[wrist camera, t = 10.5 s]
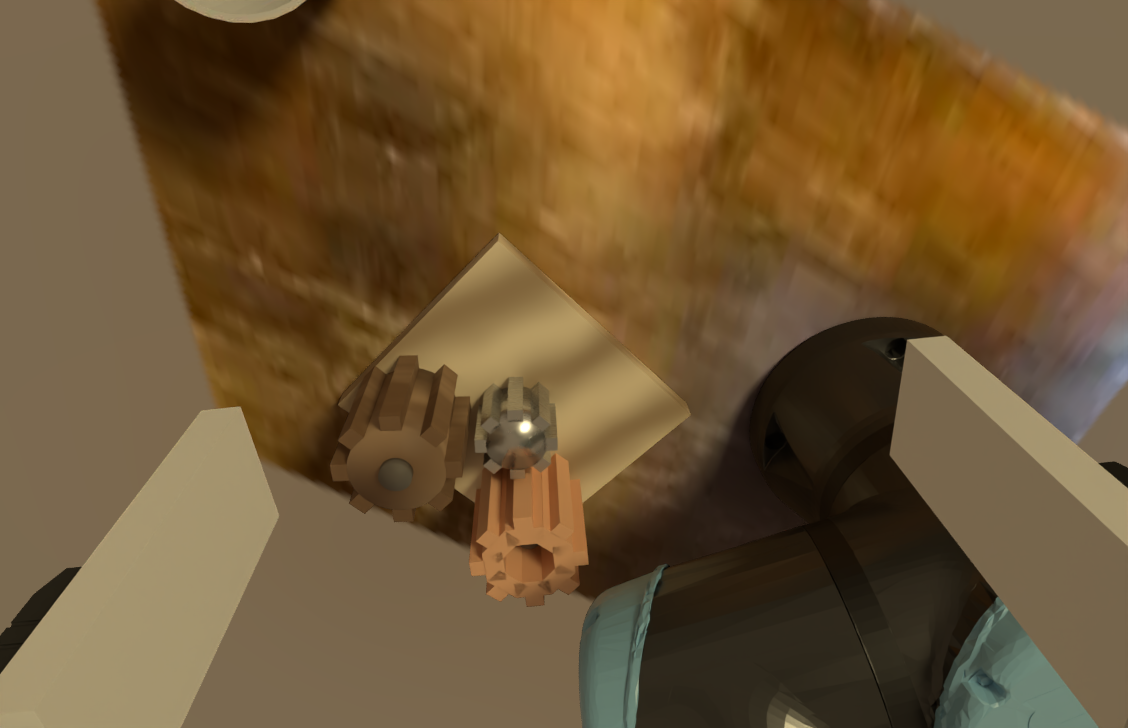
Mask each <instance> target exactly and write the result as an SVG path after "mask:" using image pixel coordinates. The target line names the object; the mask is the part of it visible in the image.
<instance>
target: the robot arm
mask: <svg viewBox="0 0 1128 728" xmlns="http://www.w3.org/2000/svg"><path fill="white" fill-rule="evenodd" d="M750 444H751V448H752V452H753V455H754V458H755V460H756V462H757V465H758V467H759V469H760V471H761V473H762V475H763V477H764V479H765V481H766V482H767V484H768V486H769V487H770V488H771V490H772V491H773V492H774V493H775V495H776V496H777V497H778V498H779V499H780V500H781V501H782V502H783V503H784V504H786V505H787V506H788V507H789V508H791V509H792V510H793V511H794V512H796V513H797V514H798V515H799V516H801V517H802V518H803V519H804V520H806V521H807V522H808V523H809V524H807V525H804V526H799V527H795V528H792V529H789V530H786V531H783V532H780V533H777V534H774V535H771V536H768V537H765V538H762V539H759V540H755V541H752V542H749V543H746V544H743V545H740V546H737V547H734V548H730V549H727V550H724V551H721V552H717V553H714V554H711V555H707V556H704V557H701V558H698V559H694V560H691V561H688V562H684V563H681V564H678V565H674V566H671V567H670V566H669V565H668V564H664V565H660V566H658V567H657V568H656V569H655V570H654V571H653V572H651V573H649V574H646V575H643V576H641V577H638V578H635V579H633V580H630V581H627V582H625V583H622V584H619V585H617V586H614V587H611V588H609V589H607V590H605V591H604V592H603V593H601V594H600V595H599V596H598V597H597V598H596V599H595V600H594V602H593V603H592V605H591V606H590V608H589V610H588V612H587V614H586V617H585V621H584V624H583V629H582V637H581V642H580V652H579V691H580V692H579V693H580V708H581V719H582V727H583V728H1128V468H1127V467H1125V466H1123V465H1121V464H1119V463H1117V462H1105V463H1097V462H1096V461H1095V460H1093V459H1092V458H1091V457H1090V456H1088V454H1086V453H1085V452H1084V451H1083V450H1081V449H1080V448H1079V447H1078V446H1077V445H1076V444H1074V443H1073V442H1072V441H1071V440H1070V439H1068V438H1067V437H1066V436H1065V435H1064V434H1063V433H1061V432H1060V431H1059V430H1058V429H1057V428H1055V427H1054V426H1053V425H1052V424H1051V423H1049V422H1048V421H1047V420H1046V419H1045V418H1044V417H1042V416H1041V415H1040V414H1039V413H1038V412H1036V411H1035V410H1034V409H1033V408H1032V407H1030V406H1029V405H1028V404H1027V403H1026V402H1024V401H1023V400H1022V399H1021V398H1020V397H1019V396H1017V395H1016V394H1015V393H1014V392H1013V391H1011V390H1010V389H1009V388H1008V387H1007V386H1005V385H1004V384H1003V383H1002V382H1001V381H999V380H998V379H997V378H996V377H995V376H994V375H992V374H991V373H990V372H989V371H988V370H986V369H985V368H984V367H983V366H982V365H980V364H979V363H978V362H977V361H976V360H975V359H973V358H972V357H971V356H970V355H969V354H967V353H966V352H965V351H964V350H963V349H961V348H960V347H959V346H958V345H957V344H955V343H954V342H953V341H952V340H951V339H950V338H948V337H947V336H944V335H942V334H941V333H940V332H938V331H936V330H935V329H933V328H931V327H929V326H927V325H924V324H922V323H919V322H916V321H912V320H908V319H902V318H893V317H876V318H866V319H860V320H855V321H851V322H847V323H844V324H841V325H838V326H835V327H833V328H830V329H828V330H826V331H824V332H822V333H820V334H818V335H816V336H814V337H812V338H811V339H809V340H807V341H806V342H804V343H803V344H801V345H800V346H799V347H797V348H796V349H795V350H793V351H792V352H791V353H790V354H789V355H788V356H787V357H785V358H784V359H783V360H782V361H781V362H780V364H779V365H778V366H777V367H776V368H775V369H774V370H773V372H772V373H771V374H770V376H769V377H768V378H767V380H766V381H765V383H764V385H763V386H762V388H761V390H760V392H759V394H758V396H757V399H756V401H755V404H754V407H753V410H752V414H751V420H750ZM278 518H279V514H278V511H277V508H276V506H275V502H274V500H273V497H272V494H271V491H270V488H269V486H268V483H267V480H266V477H265V475H264V472H263V469H262V466H261V463H260V460H259V458H258V455H257V452H256V449H255V446H254V444H253V441H252V438H251V435H250V432H249V430H248V427H247V424H246V421H245V418H244V416H243V413H242V410H241V407H232V408H222V409H212V410H204V411H203V410H202V411H201V412H200V413H199V415H198V416H197V417H196V419H195V420H194V421H193V422H192V424H191V425H190V426H189V428H188V429H187V430H186V432H185V433H184V434H183V436H182V437H181V438H180V439H179V441H178V442H177V444H176V445H175V446H174V447H173V449H172V450H171V451H170V452H169V454H168V455H167V456H166V458H165V459H164V460H163V462H162V463H161V464H160V466H159V467H158V468H157V470H156V471H155V472H154V474H153V475H152V476H151V478H150V479H149V480H148V481H147V483H146V484H145V486H144V487H143V488H142V489H141V491H140V492H139V493H138V494H137V496H136V497H135V498H134V500H133V501H132V502H131V504H130V505H129V506H128V507H127V509H126V510H125V511H124V513H123V514H122V515H121V517H120V518H119V519H118V521H117V522H116V523H115V525H114V526H113V527H112V528H111V530H110V531H109V532H108V534H107V535H106V536H105V538H104V539H103V540H102V542H101V543H100V544H99V545H98V547H97V548H96V549H95V551H94V552H93V553H92V555H91V556H90V557H89V559H88V560H87V561H86V562H85V564H84V565H83V566H82V567H75V568H66V569H65V570H64V571H63V572H61V573H60V574H59V575H57V576H56V577H55V578H54V579H52V580H51V581H50V582H49V583H47V584H46V585H45V586H43V587H42V588H41V589H40V590H38V591H37V592H36V593H35V594H34V595H33V596H32V597H31V598H30V600H29V601H28V602H27V603H26V604H25V606H24V607H23V608H22V609H21V611H20V612H19V613H18V614H17V616H16V617H15V618H14V619H13V621H12V622H11V623H12V625H11V627H10V628H6V629H5V631H4V632H3V633H2V634H1V636H0V728H181V726H182V724H183V721H184V719H185V717H186V715H187V713H188V711H189V709H190V706H191V704H192V702H193V700H194V698H195V696H196V693H197V691H198V689H199V687H200V685H201V683H202V681H203V679H204V676H205V674H206V672H207V670H208V668H209V666H210V664H211V661H212V659H213V657H214V655H215V653H216V650H217V649H218V646H219V644H220V642H221V640H222V638H223V635H224V634H225V631H226V629H227V627H228V625H229V623H230V621H231V619H232V616H233V614H234V612H235V610H236V608H237V606H238V604H239V601H240V599H241V597H242V595H243V593H244V590H245V588H246V586H247V584H248V582H249V580H250V578H251V576H252V573H253V571H254V569H255V567H256V565H257V563H258V561H259V558H260V556H261V554H262V552H263V550H264V548H265V545H266V543H267V541H268V539H269V537H270V535H271V533H272V530H273V528H274V526H275V524H276V522H277V520H278Z"/></svg>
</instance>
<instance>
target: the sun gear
mask: <svg viewBox="0 0 1128 728" xmlns="http://www.w3.org/2000/svg"><path fill="white" fill-rule="evenodd" d="M474 441H475V453H484V461H483V466H484V467H485V468H487V469H488V470H489V471H491V472H492V473H493V474H495V473H496V472H497V471H498V470H499V469H501V468H502V467H503V468H506V469H510V479H525V469H527V468H530V467H532V466H533V467H534V468H535V469H537V470H538V471H539V472H540V473H541V472H542V471H543V470H545V469H546V468H547V467H548V466H549V465H550V464H551V451H558V438H557V422H556V407H555V403H549V390H548V389H547V388H546V387H544V386H543V385H542V384H541V383H540V382H538V383H537V384H536V385H534V386H533V387H532V388H531V389H530V388H528V387H524V386H523V377H509V382H508V387H507V388H504V389H501V388H499V387H498V386H497V385H496V384H494V383H493V384H492V385H491V386H490V387H489V388H488V389H486V390H485V391H484V397H483V405H479V406H478V414H477V423H476V431H475V440H474Z"/></svg>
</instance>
